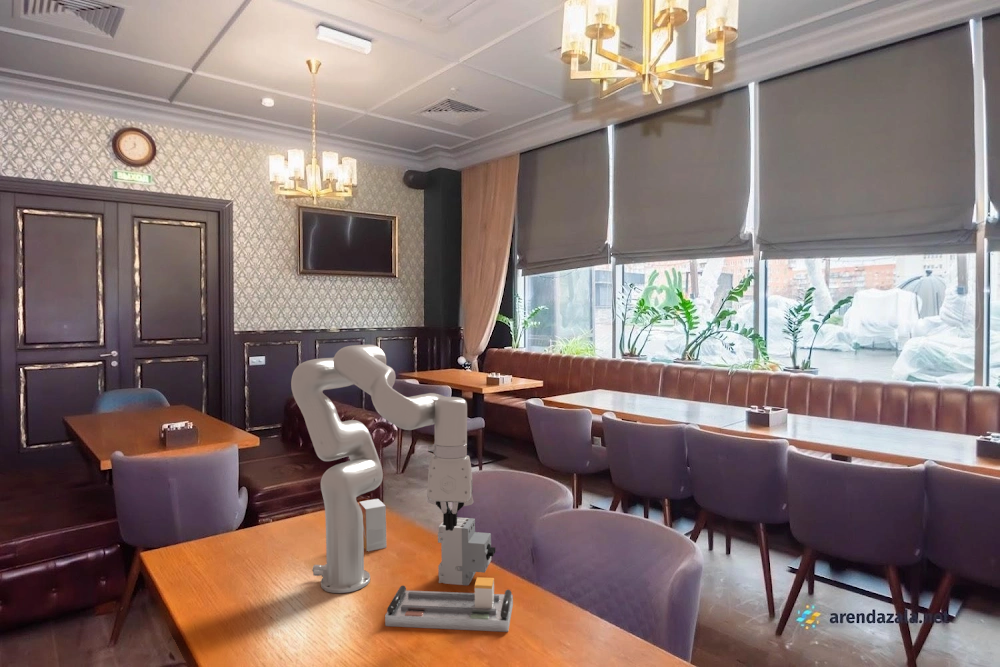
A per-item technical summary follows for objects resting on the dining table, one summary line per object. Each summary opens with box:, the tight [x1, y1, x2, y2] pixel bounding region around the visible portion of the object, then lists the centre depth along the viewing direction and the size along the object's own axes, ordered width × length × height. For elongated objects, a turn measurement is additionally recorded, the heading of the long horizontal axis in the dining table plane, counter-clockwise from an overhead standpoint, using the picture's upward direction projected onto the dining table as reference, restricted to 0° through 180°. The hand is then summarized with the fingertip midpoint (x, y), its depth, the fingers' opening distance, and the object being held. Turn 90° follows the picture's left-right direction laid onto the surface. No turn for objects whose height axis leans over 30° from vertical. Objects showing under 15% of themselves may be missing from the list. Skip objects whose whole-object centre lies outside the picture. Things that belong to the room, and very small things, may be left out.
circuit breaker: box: [437, 517, 496, 586], centre depth 154 cm, size 8×14×15 cm, turn 78°
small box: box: [358, 498, 387, 552], centre depth 178 cm, size 8×6×13 cm
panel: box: [384, 585, 514, 633], centre depth 136 cm, size 28×12×4 cm, turn 84°
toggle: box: [474, 576, 495, 609], centre depth 135 cm, size 4×4×6 cm
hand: (450, 528), depth 135 cm, fingers closed
